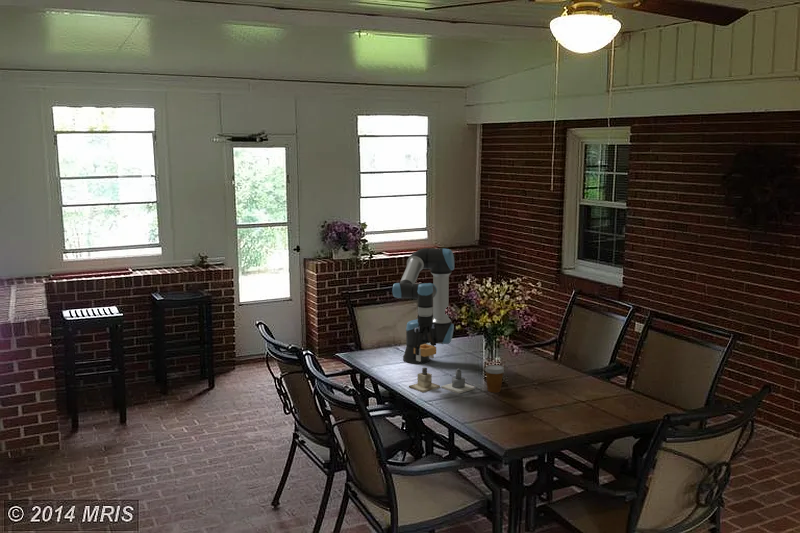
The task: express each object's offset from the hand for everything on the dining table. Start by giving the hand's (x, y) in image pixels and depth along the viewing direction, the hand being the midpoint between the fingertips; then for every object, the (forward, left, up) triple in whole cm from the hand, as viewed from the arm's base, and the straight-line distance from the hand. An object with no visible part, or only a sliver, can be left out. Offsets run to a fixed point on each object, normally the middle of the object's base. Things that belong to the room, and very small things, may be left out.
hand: (424, 359), depth 367 cm
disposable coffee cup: (-23, +26, -15) cm, 38 cm away
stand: (0, 0, -15) cm, 15 cm away
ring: (0, 0, +3) cm, 3 cm away
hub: (-12, +12, -15) cm, 22 cm away
